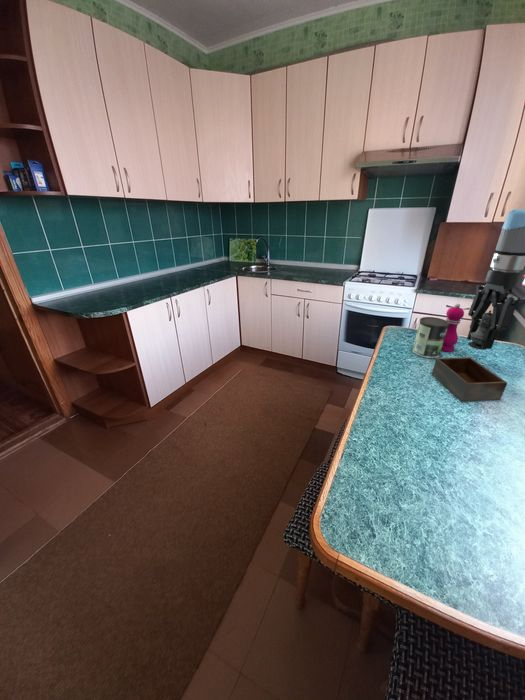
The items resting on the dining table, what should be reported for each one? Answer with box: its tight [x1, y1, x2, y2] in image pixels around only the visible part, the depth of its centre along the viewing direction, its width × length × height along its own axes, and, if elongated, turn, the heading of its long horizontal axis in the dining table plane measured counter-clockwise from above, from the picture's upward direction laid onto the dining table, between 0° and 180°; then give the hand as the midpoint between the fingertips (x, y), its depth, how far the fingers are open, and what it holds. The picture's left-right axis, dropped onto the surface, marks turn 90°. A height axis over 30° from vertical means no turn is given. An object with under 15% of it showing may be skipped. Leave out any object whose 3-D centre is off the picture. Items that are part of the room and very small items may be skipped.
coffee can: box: [412, 316, 449, 359], centre depth 118 cm, size 10×10×14 cm
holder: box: [431, 356, 508, 403], centre depth 98 cm, size 13×17×7 cm
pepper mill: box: [441, 303, 465, 353], centre depth 120 cm, size 7×7×20 cm
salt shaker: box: [467, 310, 493, 351], centre depth 90 cm, size 6×6×12 cm
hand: (478, 343), depth 92 cm, fingers closed on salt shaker, 6 cm apart
